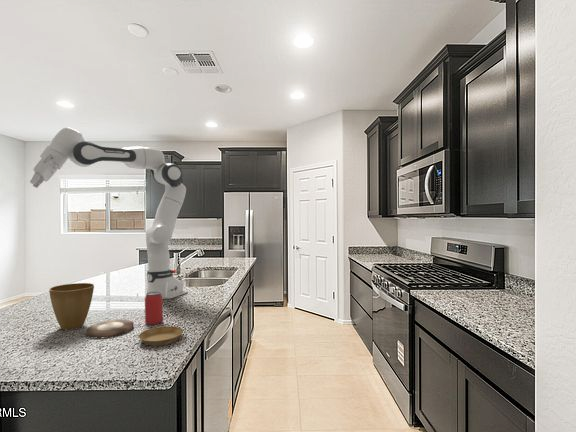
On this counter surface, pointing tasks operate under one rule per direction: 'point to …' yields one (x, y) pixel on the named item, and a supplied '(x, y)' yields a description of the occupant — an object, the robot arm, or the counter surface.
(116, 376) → the counter surface
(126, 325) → the disc
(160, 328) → the plant saucer
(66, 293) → the plant pot
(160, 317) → the beer can
